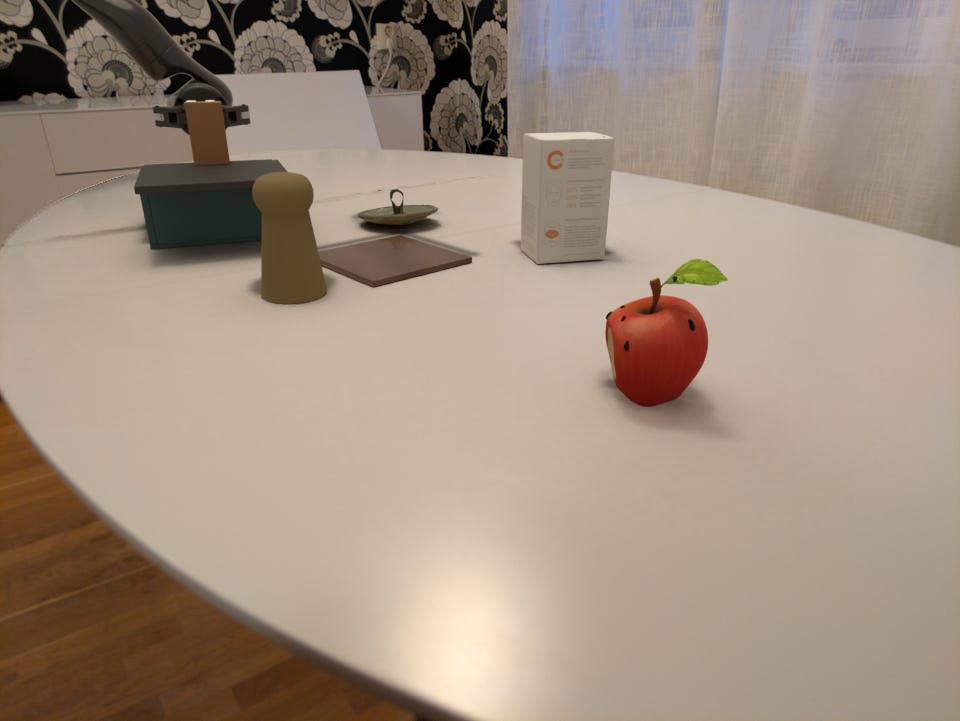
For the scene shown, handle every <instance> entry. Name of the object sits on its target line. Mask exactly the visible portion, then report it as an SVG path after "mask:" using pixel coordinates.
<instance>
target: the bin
mask: <svg viewBox="0 0 960 721" xmlns="http://www.w3.org/2000/svg"><path fill="white" fill-rule="evenodd" d="M261 160H262V159H245V160H243V159H242V161H261ZM266 160H273V159H271V158H268V159H266ZM238 161H239V160H230V162H238ZM192 163H193V162H173V163H172V164H192ZM169 164H170V163H153V164H152V163H151V165H169ZM146 165H147V164H144V165H143V166H146ZM252 190H253V188H241V189H223V190H205V191H188V192H170V193H152V194H139V198H140V202H141V207H142V213H143V218H144V222H145V227H146V234H147V239H148V243H149V247H150V248H149V249H150V250H159V249H172V248H183V247H196V246H211V245H218V244H221V245H222V244H232V243H244V242H245V243H246V242H257V241H262V212H261V211H260V210H259V209H258V207H257V206H256V204H255V202H254V199H253V193H252Z"/></svg>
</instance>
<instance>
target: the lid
mask: <svg viewBox="0 0 960 721" xmlns="http://www.w3.org/2000/svg"><path fill="white" fill-rule="evenodd" d="M395 193H399V194H400V195H401V196H402V197H404V192H403V191H401V190H400V189H399V188H394V189H391V190H390V191H389V200H390V202H391V205H390V206H383V207H376V208H371V209H366V210H364V211H360V212H359V213H358V214H357V217H358V218H359V219H361V220H363V221H365V222H367V223H368V222H369V223H372V224H377V225H388V226H407V225H411V224H414V223H416V222H418V221H420V220H423V219H425V218H427V217H429V216H431V215H433V214H435V213H437V212H438V211H439V207H437V206H435V205H431V204H404V199H402V201H401V203H400V205H397V204H396V203H395V202H394V201H393V200H392V199H393V196H394V194H395Z"/></svg>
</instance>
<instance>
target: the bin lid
mask: <svg viewBox="0 0 960 721" xmlns="http://www.w3.org/2000/svg"><path fill="white" fill-rule="evenodd" d="M184 104H185V110H186V116H187V123H188V129H189V135H190V136H189V135H188V136H189V141H190V146H191V153H192V159H193V162H191V163H192V164H173V163H168V164H169V165H152V164H145V165H146V166H144V165H141V166H140V169H139V173H138V175H137V178H136V180H135V183H134V186H133V189H134V190H133V191H134V194H135V195H140V194H152V193H170V192H188V191H205V190H223V189H241V188H253V185H254V182H255V180H256V179H257V178H259V177H260V176H262V175H266V174H269V173H275V172H288V169H286V168H285V167H284V166H283V164H282V163H281V162H280V161H279V159H272V160H267V159H260V160H261V161H243V160H237V161H238V162H230V161H231V160H230V153H229V144H228V137H227V130H226V131H225V124H224V117H223V110H222V103H221V101H190V102H184Z"/></svg>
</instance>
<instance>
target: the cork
mask: <svg viewBox="0 0 960 721" xmlns="http://www.w3.org/2000/svg"><path fill="white" fill-rule="evenodd" d="M252 193H253V199H254V202H255V204H256V206H257V207H258V209H259V210H260V211H261V212H262V240H261V257H260V258H261V260H260V261H261V263H260V264H261V268H260V269H261V270H260V271H261V272H260V273H261V274H260V291H261V292H260V296H261V298H262V299H263V300H264V301H267V302H269V303H274V304H281V305H282V304H283V305H284V304H286V305H288V304H290V305H291V304H303V303H308V302H311V301H316V300H318V299H321V298H323V297H324V296H325V295H326V294H327V292H328V288H327V283H326V279H325V274H324V271H323V266H321V261H320V257H319V253H318V251H319V249H318V245H317V240H316V236H315V232H314V227H313V223H312V219H311V215H310V214H311V213H310V208H311V207H312V206H313V202H314V188H313V185H312V182H311V181H310V179H309V178H308V177H307V176H305V175H304V174H301V173H296V172H291V171H287V172H275V173H269V174H266V175H262V176H260V177H259V178H257V179H256V180H255V182H254V185H253V190H252Z"/></svg>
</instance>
